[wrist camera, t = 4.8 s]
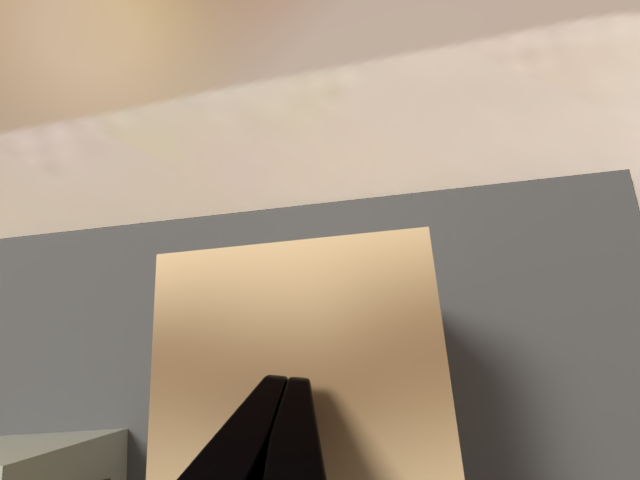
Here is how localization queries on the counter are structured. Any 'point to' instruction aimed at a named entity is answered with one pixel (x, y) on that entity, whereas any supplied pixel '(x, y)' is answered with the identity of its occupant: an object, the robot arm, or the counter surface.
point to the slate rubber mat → (455, 303)
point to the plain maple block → (308, 350)
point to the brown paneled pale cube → (65, 455)
